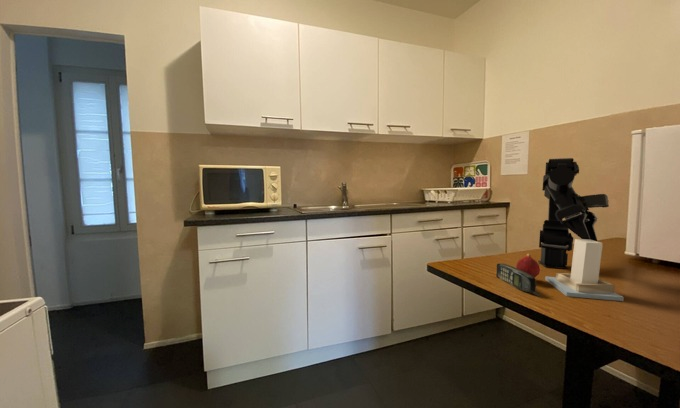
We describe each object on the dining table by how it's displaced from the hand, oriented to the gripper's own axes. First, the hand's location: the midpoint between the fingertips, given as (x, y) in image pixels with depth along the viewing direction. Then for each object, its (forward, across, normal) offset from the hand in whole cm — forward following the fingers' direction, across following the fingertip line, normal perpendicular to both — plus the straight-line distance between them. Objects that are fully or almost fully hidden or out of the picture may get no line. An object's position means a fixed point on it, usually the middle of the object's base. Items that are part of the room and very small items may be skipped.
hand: (592, 242), depth 79 cm
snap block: (+10, -5, +6) cm, 13 cm away
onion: (+6, -9, +17) cm, 21 cm away
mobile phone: (+8, -16, +18) cm, 25 cm away
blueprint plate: (+11, -5, +7) cm, 14 cm away
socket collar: (+11, -5, +7) cm, 14 cm away
